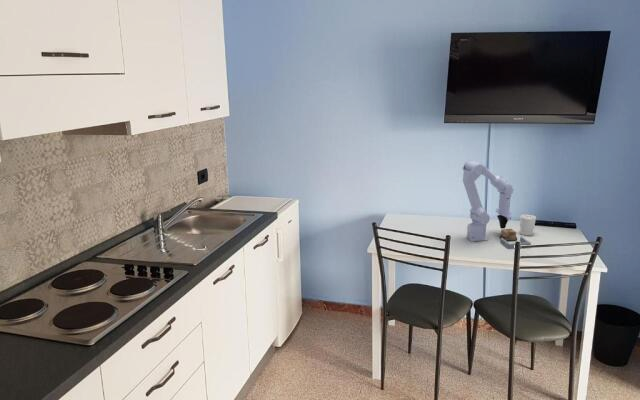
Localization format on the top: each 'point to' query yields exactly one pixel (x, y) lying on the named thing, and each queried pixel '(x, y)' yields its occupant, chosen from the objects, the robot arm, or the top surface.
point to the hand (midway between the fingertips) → (502, 228)
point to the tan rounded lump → (508, 234)
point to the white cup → (527, 224)
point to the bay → (511, 246)
